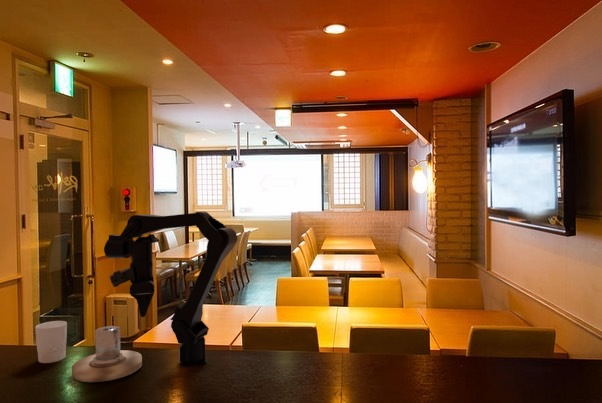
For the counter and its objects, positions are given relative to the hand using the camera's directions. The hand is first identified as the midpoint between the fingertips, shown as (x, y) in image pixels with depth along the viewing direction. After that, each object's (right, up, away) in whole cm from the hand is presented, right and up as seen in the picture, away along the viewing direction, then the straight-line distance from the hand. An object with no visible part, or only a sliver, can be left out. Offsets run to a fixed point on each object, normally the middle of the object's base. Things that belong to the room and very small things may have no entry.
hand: (143, 313), depth 124 cm
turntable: (-6, -13, -9) cm, 17 cm away
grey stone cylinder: (-6, -11, -9) cm, 15 cm away
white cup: (-27, -14, +1) cm, 30 cm away
